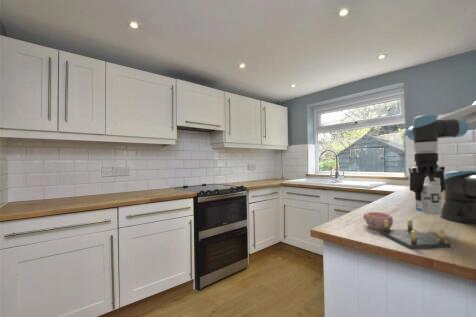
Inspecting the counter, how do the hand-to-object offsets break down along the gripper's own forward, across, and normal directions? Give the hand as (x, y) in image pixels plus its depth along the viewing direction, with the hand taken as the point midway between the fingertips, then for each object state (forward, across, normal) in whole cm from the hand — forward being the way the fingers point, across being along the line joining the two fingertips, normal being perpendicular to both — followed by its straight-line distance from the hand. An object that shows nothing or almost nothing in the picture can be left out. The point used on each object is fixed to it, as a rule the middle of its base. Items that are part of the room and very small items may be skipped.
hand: (428, 207), depth 92 cm
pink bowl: (+9, +20, -4) cm, 22 cm away
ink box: (+2, 0, 0) cm, 2 cm away
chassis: (+9, +16, +10) cm, 21 cm away
